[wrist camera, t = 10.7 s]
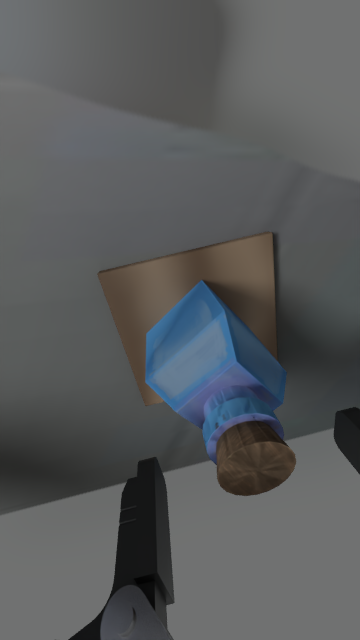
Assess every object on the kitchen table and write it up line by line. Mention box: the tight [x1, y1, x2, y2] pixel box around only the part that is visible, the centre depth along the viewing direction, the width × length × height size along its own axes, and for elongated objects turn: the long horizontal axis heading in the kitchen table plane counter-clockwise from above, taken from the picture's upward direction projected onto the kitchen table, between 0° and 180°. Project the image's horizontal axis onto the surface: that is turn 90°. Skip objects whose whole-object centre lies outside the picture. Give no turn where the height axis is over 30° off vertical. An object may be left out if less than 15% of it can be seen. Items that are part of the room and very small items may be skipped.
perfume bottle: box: [145, 280, 296, 496], centre depth 15 cm, size 6×6×12 cm
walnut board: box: [98, 232, 278, 406], centre depth 21 cm, size 13×13×1 cm
